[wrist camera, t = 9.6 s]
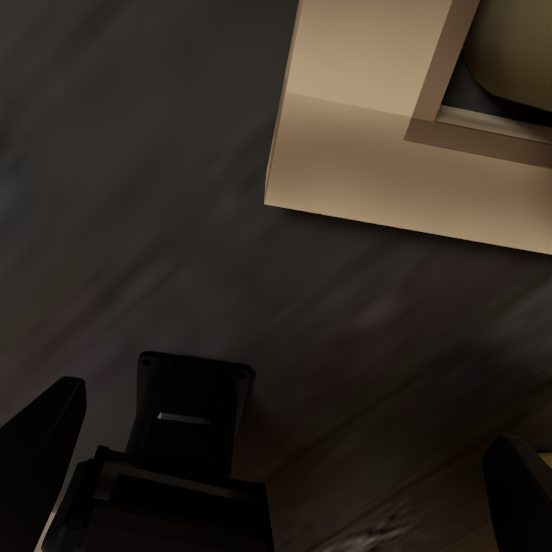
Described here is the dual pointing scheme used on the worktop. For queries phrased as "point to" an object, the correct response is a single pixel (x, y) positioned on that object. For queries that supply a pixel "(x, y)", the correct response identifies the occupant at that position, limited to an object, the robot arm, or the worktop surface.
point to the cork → (512, 50)
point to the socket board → (402, 129)
